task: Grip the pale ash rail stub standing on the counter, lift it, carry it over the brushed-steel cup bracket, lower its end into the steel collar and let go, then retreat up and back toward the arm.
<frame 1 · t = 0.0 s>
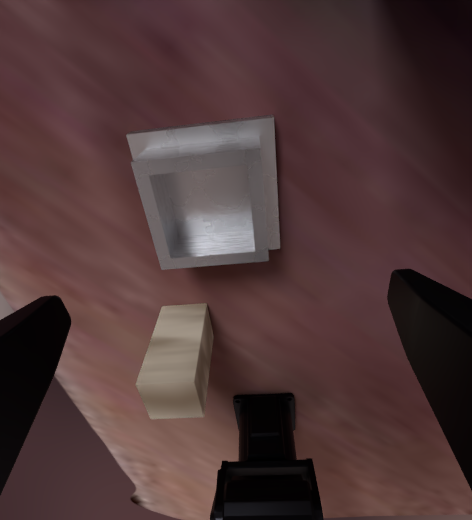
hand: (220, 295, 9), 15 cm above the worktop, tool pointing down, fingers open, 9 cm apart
cup bracket: (211, 191, 22), on the worktop
rail stub: (188, 321, 29), on the worktop
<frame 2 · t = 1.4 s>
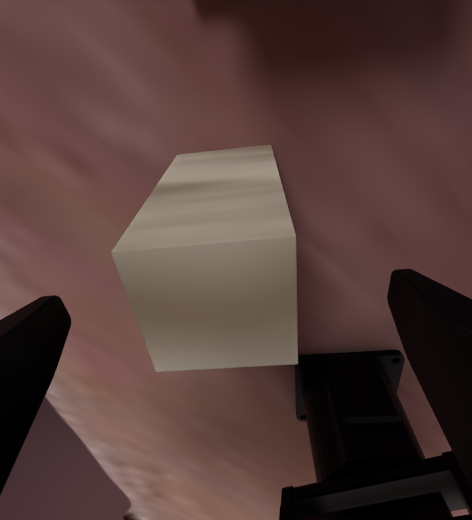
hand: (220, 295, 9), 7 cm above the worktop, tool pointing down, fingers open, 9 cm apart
rail stub: (229, 194, 15), on the worktop
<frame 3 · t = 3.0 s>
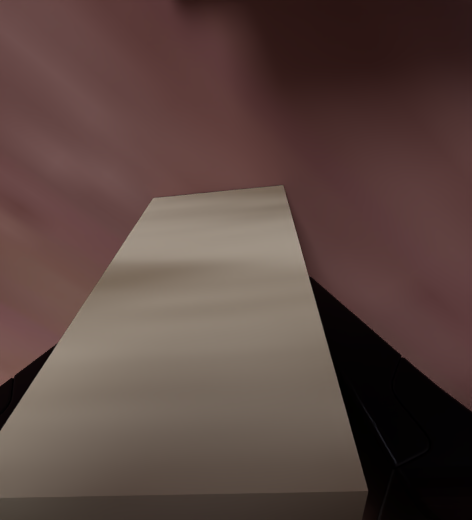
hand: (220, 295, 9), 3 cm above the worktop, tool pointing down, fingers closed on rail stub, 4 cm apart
rail stub: (225, 248, 11), on the worktop, touching gripper
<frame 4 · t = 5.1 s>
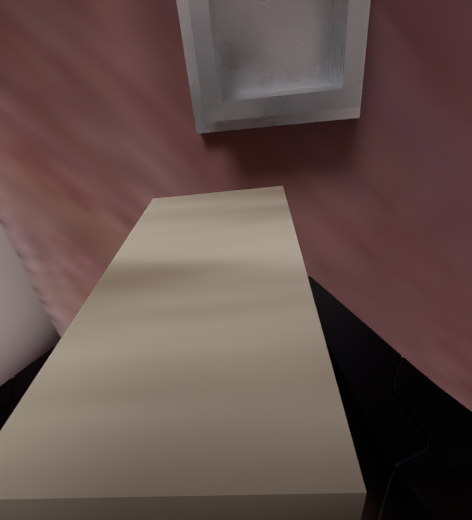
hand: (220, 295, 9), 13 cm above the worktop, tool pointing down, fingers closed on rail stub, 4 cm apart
cup bracket: (272, 28, 16), on the worktop
rail stub: (225, 248, 11), point 11 cm above the worktop, touching gripper
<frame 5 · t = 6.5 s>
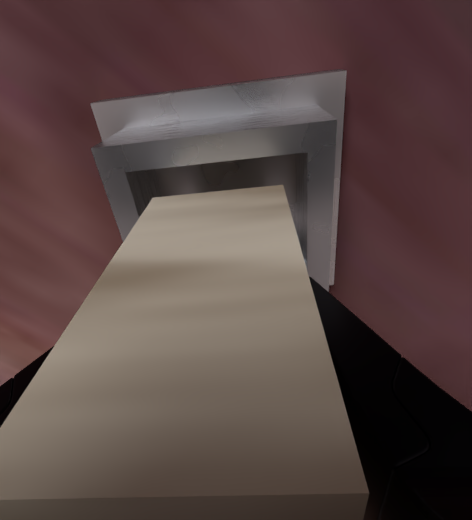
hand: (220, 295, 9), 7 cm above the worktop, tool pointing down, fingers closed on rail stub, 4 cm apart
cup bracket: (231, 198, 14), on the worktop
rail stub: (225, 248, 11), point 4 cm above the worktop, touching gripper
when the fingers open (5 cm above the worktop, at t = 7.5 s): rail stub drops 1 cm, resting on cup bracket.
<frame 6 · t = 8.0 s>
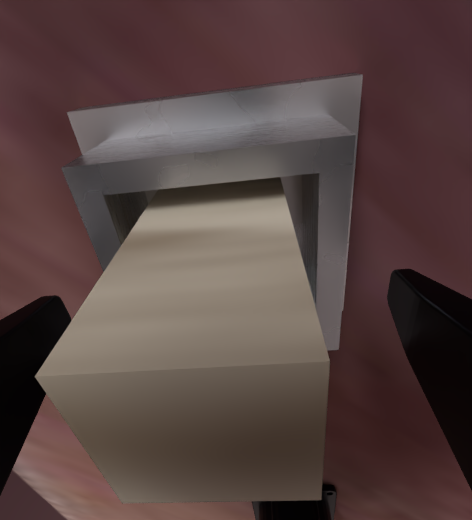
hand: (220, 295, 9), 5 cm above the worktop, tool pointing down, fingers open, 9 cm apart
cup bracket: (229, 216, 13), on the worktop
rail stub: (227, 228, 12), point 1 cm above the worktop, touching cup bracket
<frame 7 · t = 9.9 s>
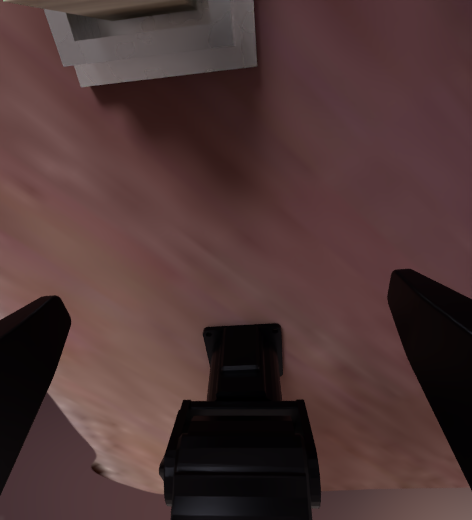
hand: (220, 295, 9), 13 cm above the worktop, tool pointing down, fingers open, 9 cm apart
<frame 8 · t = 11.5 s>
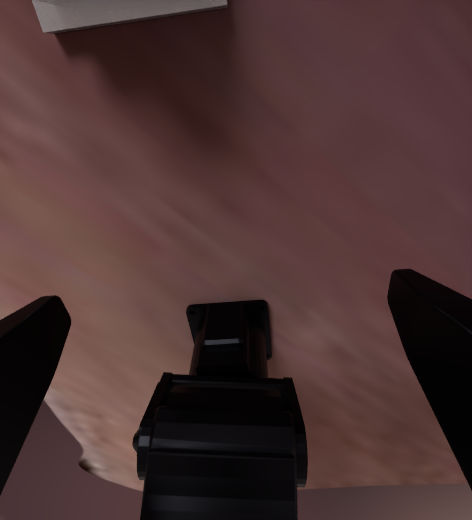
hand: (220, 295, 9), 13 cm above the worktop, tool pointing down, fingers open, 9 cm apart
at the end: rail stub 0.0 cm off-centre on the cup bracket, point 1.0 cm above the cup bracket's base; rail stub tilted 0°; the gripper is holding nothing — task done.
